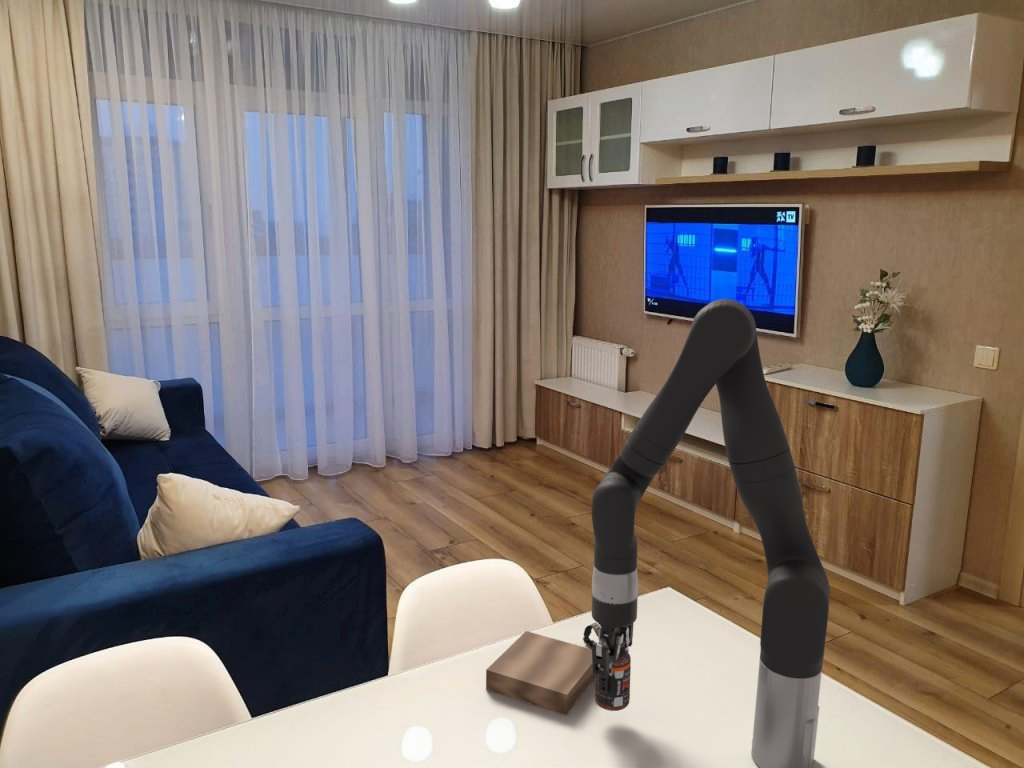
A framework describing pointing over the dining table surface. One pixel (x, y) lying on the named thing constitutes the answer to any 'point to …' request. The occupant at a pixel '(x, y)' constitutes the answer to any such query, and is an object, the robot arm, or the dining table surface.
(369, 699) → the dining table surface
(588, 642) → the wristwatch
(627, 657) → the supplement bottle
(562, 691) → the walnut block
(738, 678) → the dining table surface
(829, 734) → the dining table surface
